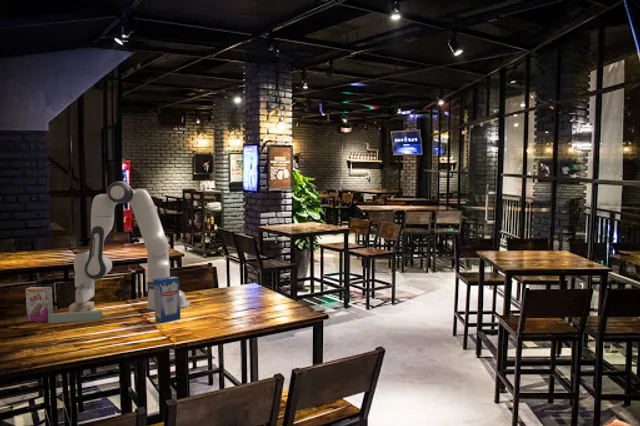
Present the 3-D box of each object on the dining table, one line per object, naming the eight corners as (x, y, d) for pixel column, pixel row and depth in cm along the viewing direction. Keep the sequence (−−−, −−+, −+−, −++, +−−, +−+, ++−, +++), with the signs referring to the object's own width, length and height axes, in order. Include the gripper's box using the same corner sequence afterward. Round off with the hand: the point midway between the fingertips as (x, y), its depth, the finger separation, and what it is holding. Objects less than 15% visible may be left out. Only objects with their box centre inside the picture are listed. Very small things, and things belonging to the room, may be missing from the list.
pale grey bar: (102, 318, 264) (101, 310, 264) (100, 319, 261) (100, 311, 261) (50, 321, 261) (50, 313, 261) (48, 323, 258) (47, 315, 258)
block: (94, 313, 276) (94, 301, 276) (90, 316, 269) (90, 304, 268) (74, 314, 275) (73, 302, 275) (69, 318, 267) (68, 306, 267)
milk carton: (174, 316, 262) (172, 276, 261) (180, 318, 258) (178, 277, 257) (155, 320, 255) (153, 279, 254) (161, 322, 251) (159, 280, 250)
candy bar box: (26, 322, 262) (24, 288, 261) (33, 319, 267) (30, 286, 266) (48, 322, 261) (46, 288, 260) (54, 319, 266) (52, 286, 265)
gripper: (84, 285, 268) (86, 313, 268) (96, 278, 288) (97, 304, 289) (71, 286, 267) (72, 314, 267) (83, 279, 287) (85, 305, 288)
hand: (85, 308), depth 278 cm, fingers closed
